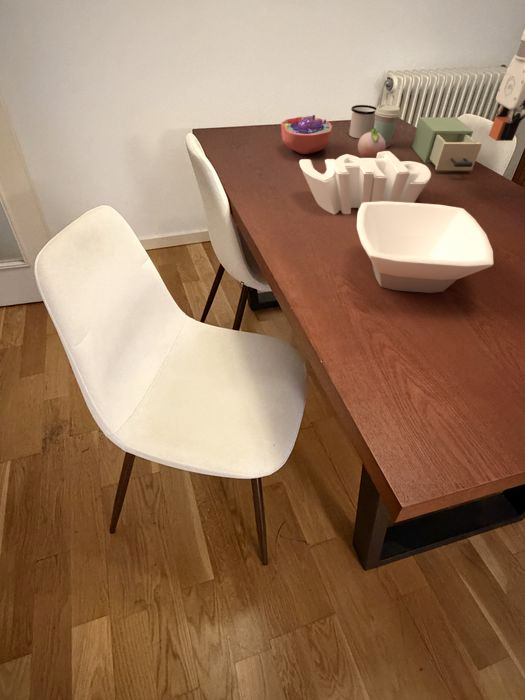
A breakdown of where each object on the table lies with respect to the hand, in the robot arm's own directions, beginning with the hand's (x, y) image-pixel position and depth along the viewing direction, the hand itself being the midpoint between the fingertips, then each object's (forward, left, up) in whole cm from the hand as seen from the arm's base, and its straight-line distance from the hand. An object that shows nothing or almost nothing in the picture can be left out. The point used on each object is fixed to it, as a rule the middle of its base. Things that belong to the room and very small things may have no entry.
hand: (501, 135), depth 106 cm
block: (0, 0, -1) cm, 1 cm away
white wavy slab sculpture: (+36, +6, -15) cm, 39 cm away
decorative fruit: (+28, -23, -15) cm, 39 cm away
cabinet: (+3, -30, -15) cm, 33 cm away
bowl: (+33, +41, -15) cm, 55 cm away
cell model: (+48, -33, -15) cm, 60 cm away
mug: (+25, -51, -15) cm, 58 cm away
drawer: (+3, -18, -14) cm, 23 cm away
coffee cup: (+20, -39, -15) cm, 46 cm away
